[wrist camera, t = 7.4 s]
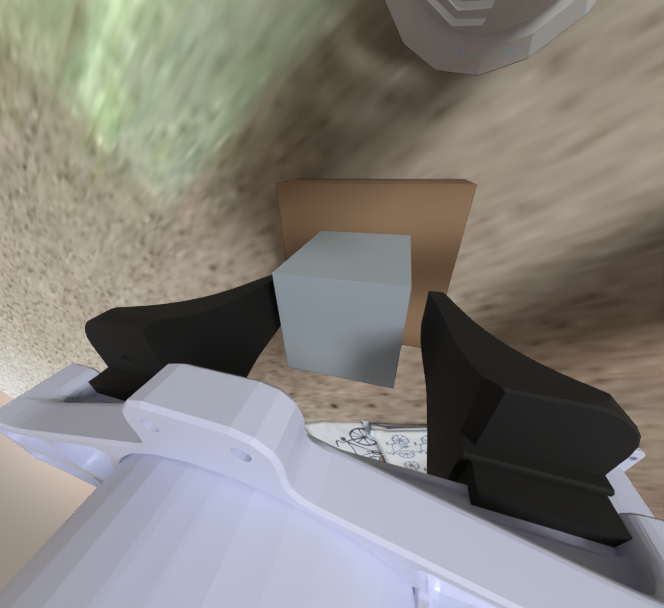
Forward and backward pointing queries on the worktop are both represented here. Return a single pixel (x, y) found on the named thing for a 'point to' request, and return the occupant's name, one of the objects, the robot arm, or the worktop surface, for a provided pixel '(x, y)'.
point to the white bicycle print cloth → (377, 441)
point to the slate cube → (346, 305)
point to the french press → (481, 30)
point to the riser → (385, 224)
